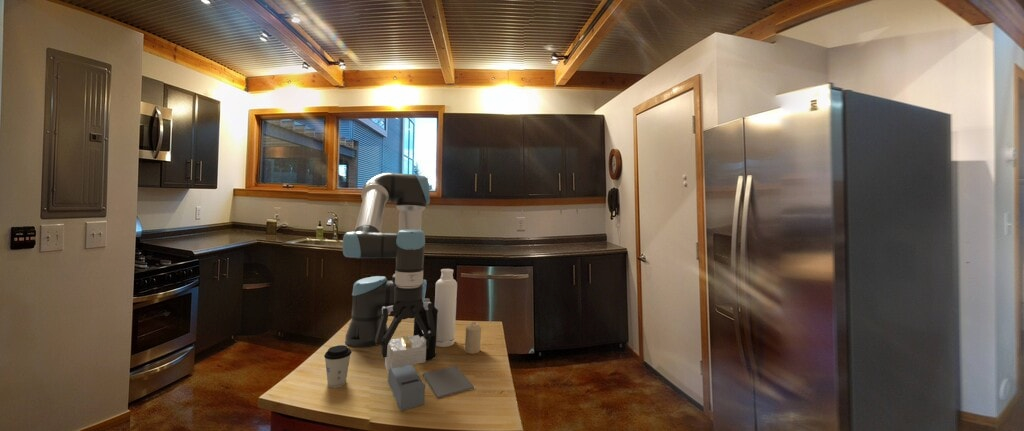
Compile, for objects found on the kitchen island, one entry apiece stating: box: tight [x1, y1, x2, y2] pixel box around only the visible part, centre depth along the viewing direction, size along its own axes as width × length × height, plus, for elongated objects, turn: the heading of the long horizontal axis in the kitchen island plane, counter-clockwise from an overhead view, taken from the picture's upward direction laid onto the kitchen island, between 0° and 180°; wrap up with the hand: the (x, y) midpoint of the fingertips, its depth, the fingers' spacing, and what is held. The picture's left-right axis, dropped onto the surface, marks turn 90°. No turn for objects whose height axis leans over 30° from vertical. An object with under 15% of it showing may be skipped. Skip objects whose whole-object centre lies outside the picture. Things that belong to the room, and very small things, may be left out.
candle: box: [464, 321, 482, 355], centre depth 119 cm, size 6×6×10 cm
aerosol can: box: [412, 297, 438, 362], centre depth 112 cm, size 8×8×20 cm
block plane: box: [387, 364, 426, 412], centre depth 90 cm, size 16×6×6 cm, turn 32°
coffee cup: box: [323, 344, 352, 388], centre depth 93 cm, size 7×7×10 cm
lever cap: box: [389, 335, 427, 369], centre depth 91 cm, size 8×9×6 cm
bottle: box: [434, 268, 458, 348], centre depth 124 cm, size 8×8×28 cm
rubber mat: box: [422, 365, 475, 399], centre depth 97 cm, size 14×11×1 cm
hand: (405, 363), depth 92 cm, fingers closed on lever cap, 9 cm apart
